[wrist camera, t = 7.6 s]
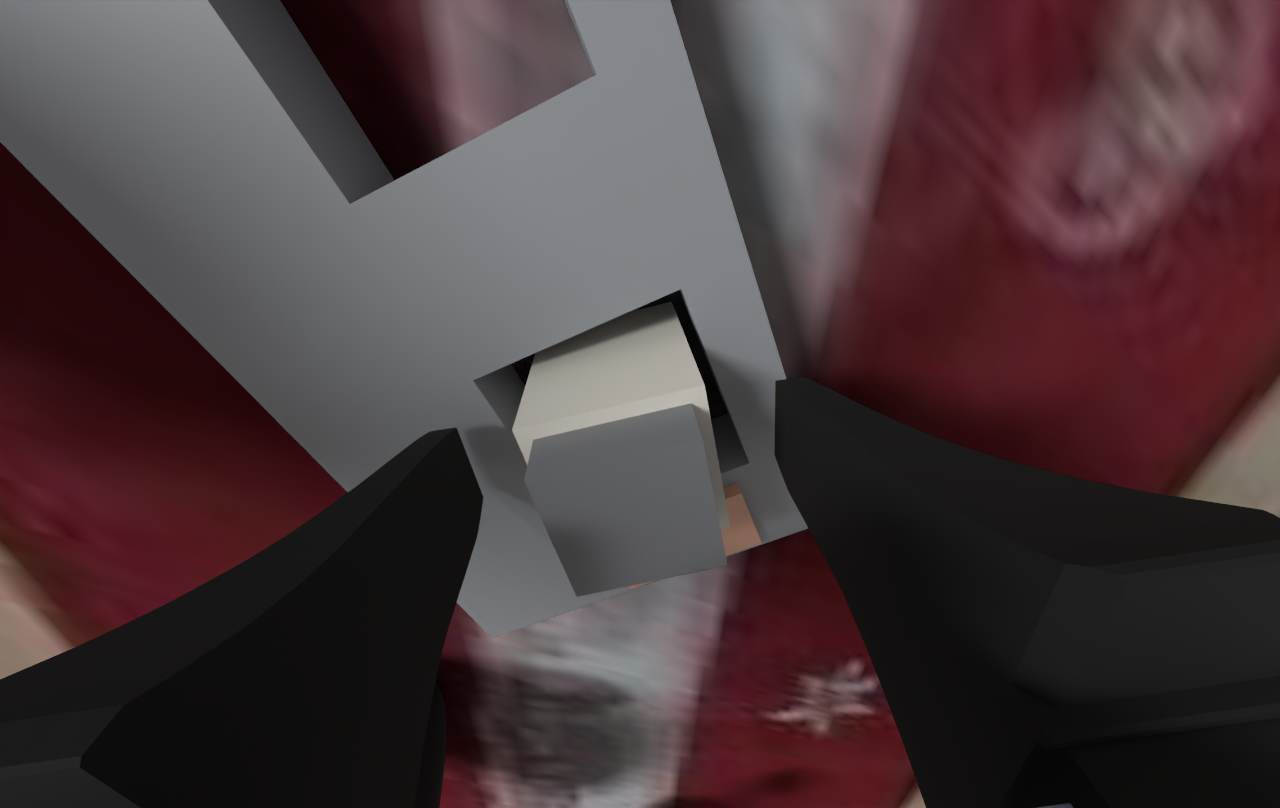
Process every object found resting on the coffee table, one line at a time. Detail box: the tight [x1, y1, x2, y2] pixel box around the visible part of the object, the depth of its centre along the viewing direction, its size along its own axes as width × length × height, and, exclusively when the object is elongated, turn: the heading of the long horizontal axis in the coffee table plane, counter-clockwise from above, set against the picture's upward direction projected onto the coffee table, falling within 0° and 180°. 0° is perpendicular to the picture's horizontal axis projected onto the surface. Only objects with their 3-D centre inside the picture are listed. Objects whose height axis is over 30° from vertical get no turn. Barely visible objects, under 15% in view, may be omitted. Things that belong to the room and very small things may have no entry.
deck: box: [0, 0, 808, 638], centre depth 10 cm, size 11×20×3 cm, turn 23°
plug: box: [512, 302, 730, 597], centre depth 11 cm, size 4×4×6 cm
